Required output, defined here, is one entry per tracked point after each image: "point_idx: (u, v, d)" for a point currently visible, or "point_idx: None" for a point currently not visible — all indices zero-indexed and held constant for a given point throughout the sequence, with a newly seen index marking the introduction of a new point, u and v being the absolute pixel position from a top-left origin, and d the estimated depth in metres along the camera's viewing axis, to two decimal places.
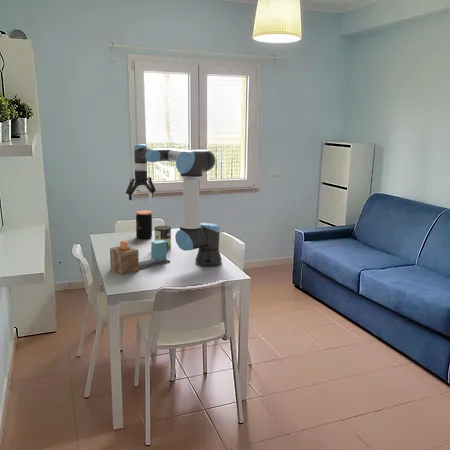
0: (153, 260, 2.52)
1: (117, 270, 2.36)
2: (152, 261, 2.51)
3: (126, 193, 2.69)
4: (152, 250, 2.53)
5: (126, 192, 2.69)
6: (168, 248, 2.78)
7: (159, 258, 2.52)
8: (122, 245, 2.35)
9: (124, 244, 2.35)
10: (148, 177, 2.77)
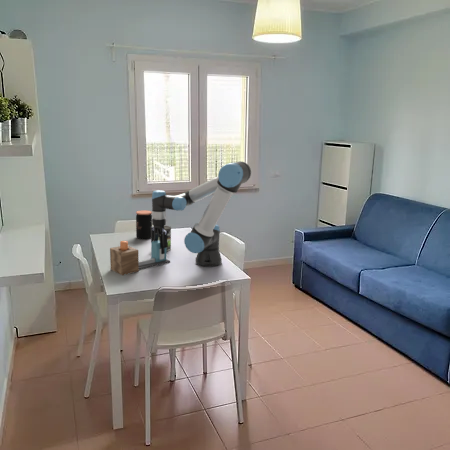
0: (153, 260, 2.52)
1: (117, 270, 2.36)
2: (152, 261, 2.51)
3: None
4: (152, 250, 2.53)
5: None
6: (168, 248, 2.78)
7: (159, 258, 2.52)
8: (122, 245, 2.35)
9: (124, 244, 2.35)
10: None
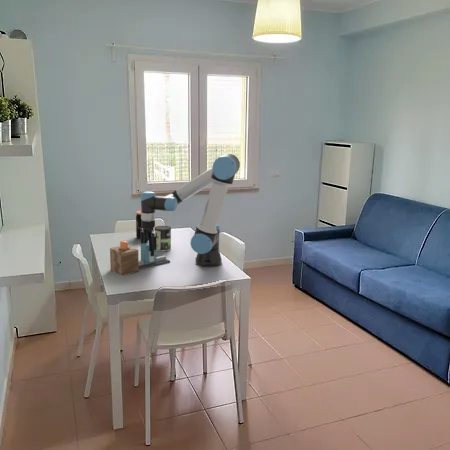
0: None
1: (117, 270, 2.36)
2: None
3: None
4: (141, 253, 2.48)
5: None
6: (168, 248, 2.78)
7: (148, 260, 2.48)
8: (122, 245, 2.35)
9: (124, 244, 2.35)
10: (154, 232, 2.43)
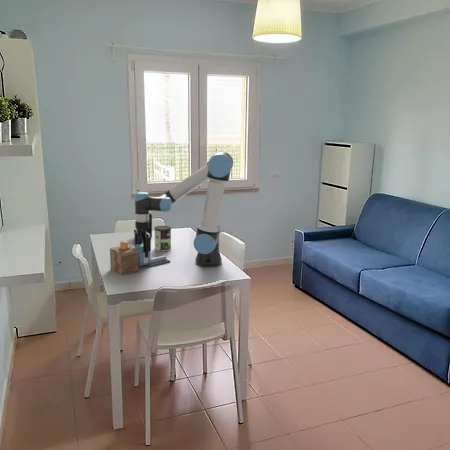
0: (153, 260, 2.52)
1: (117, 270, 2.36)
2: (152, 261, 2.51)
3: None
4: None
5: None
6: (168, 248, 2.78)
7: None
8: (122, 245, 2.35)
9: (124, 244, 2.35)
10: (148, 233, 2.40)
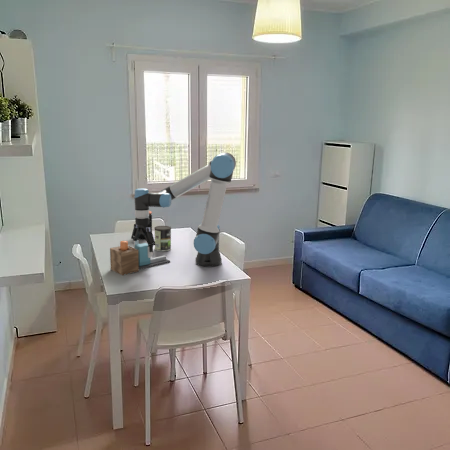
0: (153, 260, 2.52)
1: (117, 270, 2.36)
2: (152, 261, 2.51)
3: None
4: None
5: (133, 236, 2.52)
6: (168, 248, 2.78)
7: (143, 262, 2.45)
8: (122, 245, 2.35)
9: (124, 244, 2.35)
10: None
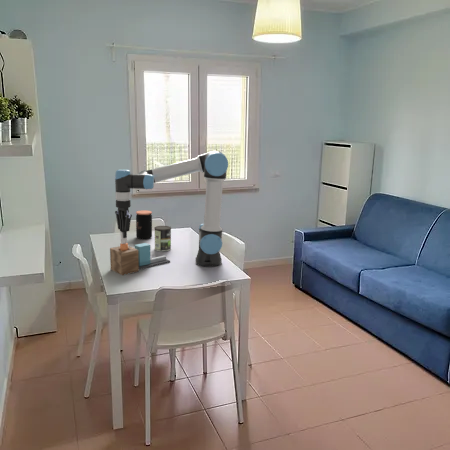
0: (153, 260, 2.52)
1: (117, 270, 2.36)
2: (152, 261, 2.51)
3: None
4: None
5: None
6: (168, 248, 2.78)
7: (143, 262, 2.45)
8: (122, 247, 2.36)
9: (124, 246, 2.36)
10: (129, 214, 2.30)
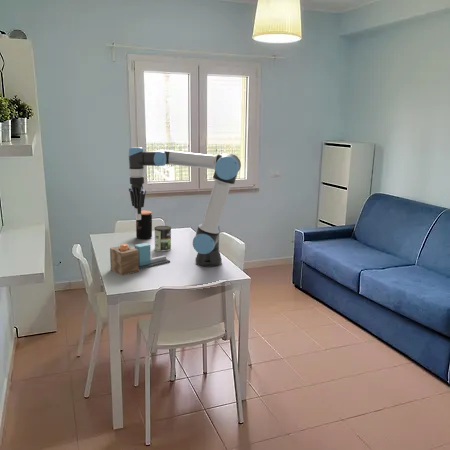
0: (153, 260, 2.52)
1: (117, 270, 2.36)
2: (152, 261, 2.51)
3: None
4: None
5: None
6: (168, 248, 2.78)
7: (143, 262, 2.45)
8: (122, 248, 2.36)
9: (124, 247, 2.36)
10: (143, 190, 2.36)
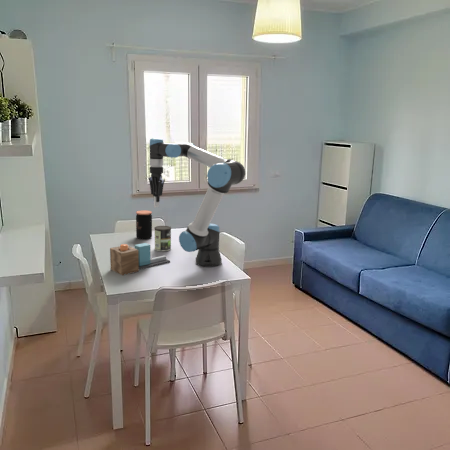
0: (153, 260, 2.52)
1: (117, 270, 2.36)
2: (152, 261, 2.51)
3: None
4: None
5: None
6: (168, 248, 2.78)
7: (143, 262, 2.45)
8: (122, 248, 2.36)
9: (124, 247, 2.36)
10: (162, 179, 2.49)
